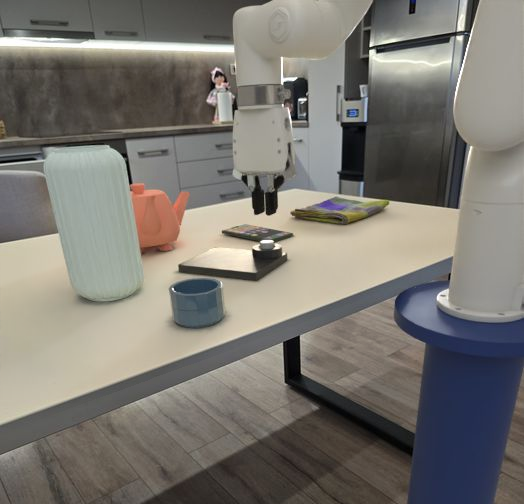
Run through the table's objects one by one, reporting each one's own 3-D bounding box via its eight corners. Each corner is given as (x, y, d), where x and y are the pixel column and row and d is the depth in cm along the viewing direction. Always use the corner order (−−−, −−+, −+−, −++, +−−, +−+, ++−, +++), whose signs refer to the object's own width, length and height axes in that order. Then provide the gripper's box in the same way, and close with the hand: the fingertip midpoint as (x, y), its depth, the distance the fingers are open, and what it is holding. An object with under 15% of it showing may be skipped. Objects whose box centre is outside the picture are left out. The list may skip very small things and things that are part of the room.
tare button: (276, 247, 90) (275, 240, 89) (270, 251, 88) (269, 243, 87) (263, 246, 91) (263, 239, 90) (257, 249, 89) (257, 242, 88)
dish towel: (392, 209, 131) (393, 198, 130) (344, 226, 115) (344, 214, 114) (338, 204, 142) (338, 194, 140) (287, 219, 125) (286, 208, 124)
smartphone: (269, 243, 103) (269, 237, 103) (221, 235, 113) (221, 230, 112) (293, 236, 109) (293, 230, 108) (245, 228, 118) (245, 223, 117)
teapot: (196, 239, 109) (189, 177, 103) (163, 261, 95) (153, 190, 89) (134, 238, 114) (124, 179, 108) (93, 258, 99) (78, 191, 93)
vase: (125, 278, 86) (100, 143, 76) (159, 291, 78) (137, 144, 68) (62, 295, 79) (26, 150, 69) (93, 312, 72) (58, 151, 62)
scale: (287, 259, 92) (287, 244, 90) (256, 280, 81) (255, 263, 80) (216, 253, 98) (215, 238, 97) (178, 272, 88) (176, 256, 86)
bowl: (234, 312, 69) (231, 280, 66) (207, 332, 63) (203, 298, 61) (192, 306, 72) (188, 275, 69) (163, 324, 66) (157, 291, 64)
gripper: (313, 96, 78) (313, 211, 86) (230, 101, 85) (237, 208, 93) (295, 96, 72) (297, 220, 80) (207, 102, 79) (217, 216, 87)
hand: (265, 213), depth 87 cm, fingers closed
